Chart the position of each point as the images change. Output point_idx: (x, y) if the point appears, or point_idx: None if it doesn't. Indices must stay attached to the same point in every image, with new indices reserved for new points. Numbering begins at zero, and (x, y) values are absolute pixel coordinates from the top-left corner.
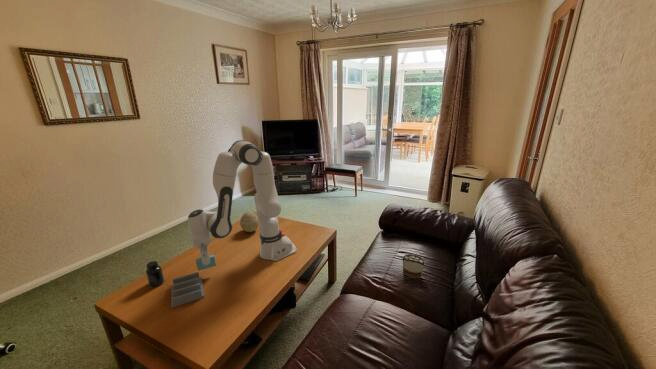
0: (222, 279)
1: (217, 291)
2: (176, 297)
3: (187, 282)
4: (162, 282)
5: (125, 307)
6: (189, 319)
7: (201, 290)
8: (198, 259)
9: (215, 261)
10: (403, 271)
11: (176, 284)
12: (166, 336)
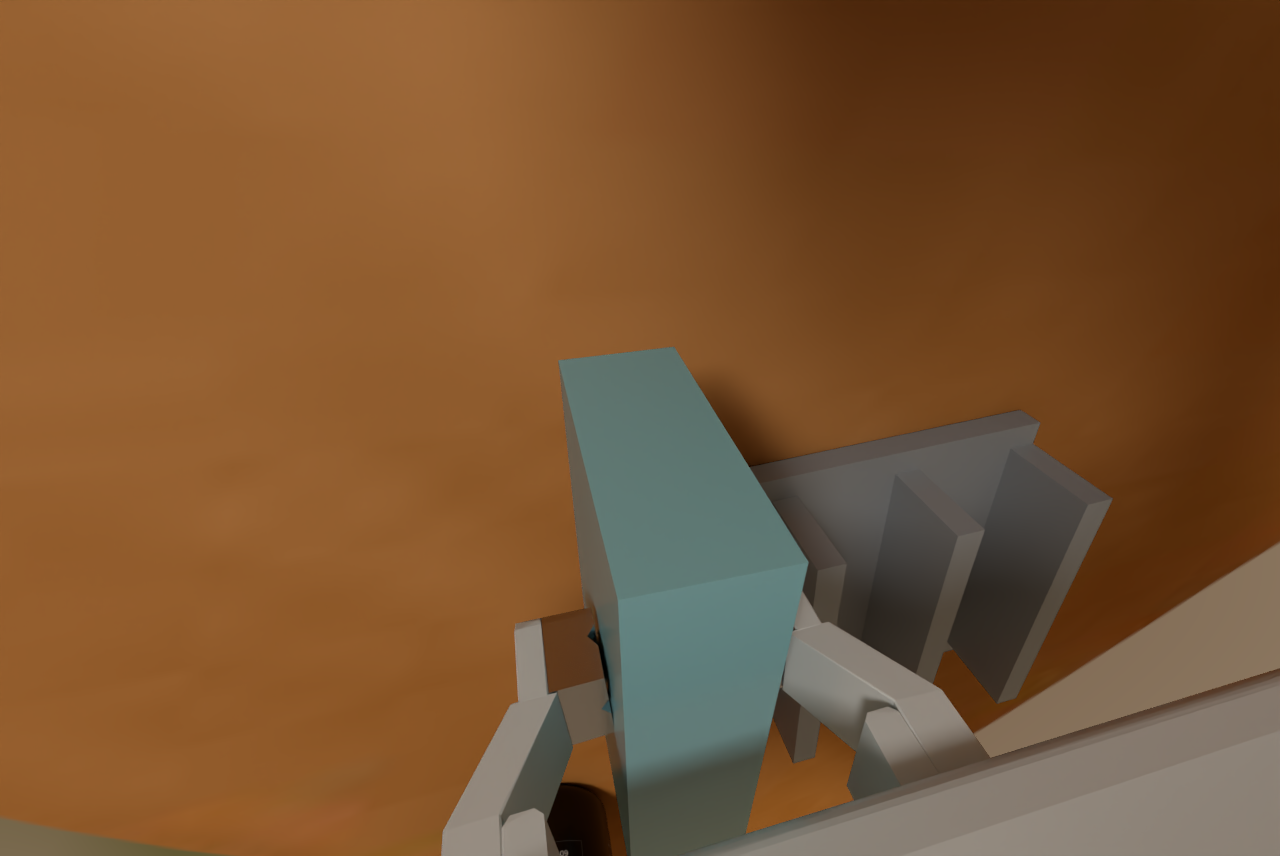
0: (820, 182)
1: (1038, 261)
2: (1019, 677)
3: None
4: (575, 796)
5: None
6: (1180, 486)
7: (932, 462)
8: (687, 841)
9: (650, 407)
10: None
11: (810, 737)
12: (1188, 582)
